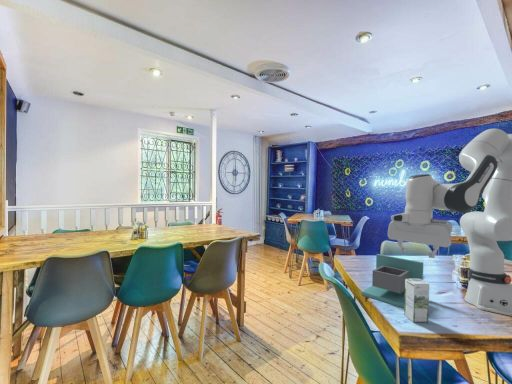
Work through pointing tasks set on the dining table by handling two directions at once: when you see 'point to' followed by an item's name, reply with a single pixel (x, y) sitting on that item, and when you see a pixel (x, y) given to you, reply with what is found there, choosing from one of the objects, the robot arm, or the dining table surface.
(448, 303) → the dining table surface
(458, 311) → the dining table surface
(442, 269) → the dining table surface
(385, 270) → the cup bracket
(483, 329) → the dining table surface
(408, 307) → the syrup box
